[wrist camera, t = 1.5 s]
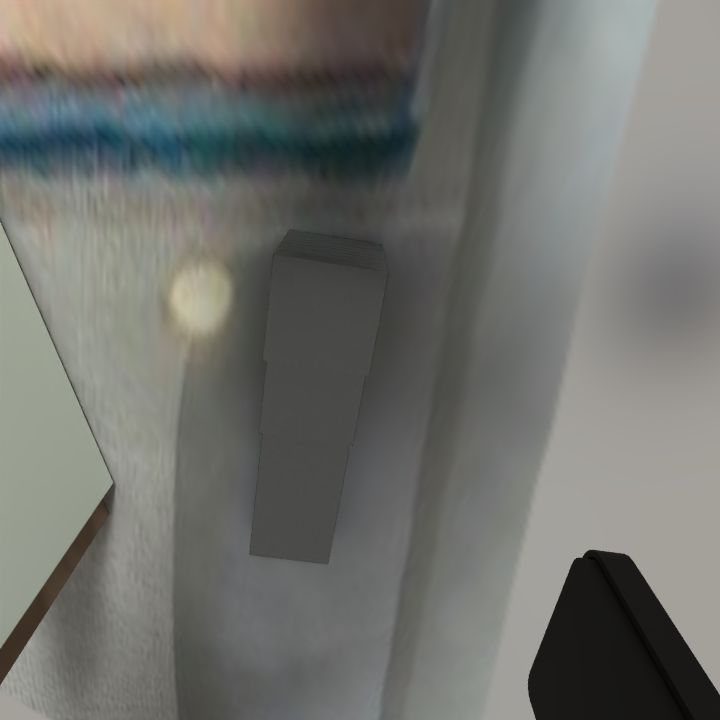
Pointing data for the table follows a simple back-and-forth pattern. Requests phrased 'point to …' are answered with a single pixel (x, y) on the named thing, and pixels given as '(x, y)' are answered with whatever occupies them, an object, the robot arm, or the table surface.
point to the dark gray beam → (313, 387)
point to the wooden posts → (49, 591)
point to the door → (37, 451)
